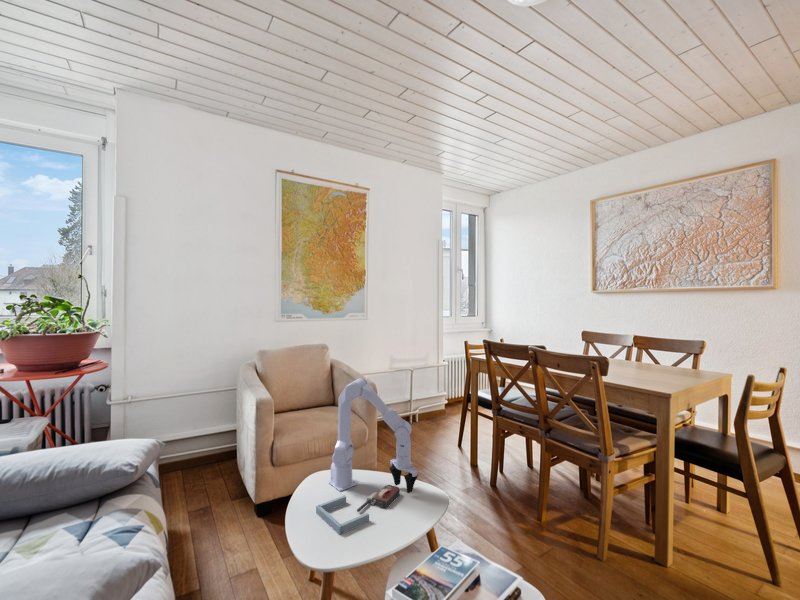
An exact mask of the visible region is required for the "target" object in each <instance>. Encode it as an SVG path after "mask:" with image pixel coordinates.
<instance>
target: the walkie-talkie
mask: <svg viewBox="0 0 800 600" xmlns="http://www.w3.org/2000/svg"><path fill="white" fill-rule="evenodd" d="M400 491H401V490H400V487H398V486H396V485H391V484H387V485H385V486H384V487H383V488H381V489H380V490H378V491H375V492H372V493H371V494H369V496H367V497H366V500H365V502H364V503H363V504H361V506H359V507H358V508H357V509H356V512H358V513H359V512H360V511H362V510H363V509H364V508H365V507H366V506H368V505H369V504H371V503H372V504H371V506H375V505H376V507H379V508H380V509H382V508H383V509H388V508H389V507H390V506H391V505H392V504H393V503H392V502H394V500H395V501H396V498H397V499H398V498H399V497H398V496H400V495H401V494H400V493H401V492H400ZM391 503H392V504H391ZM390 504H391V505H390ZM389 505H390V506H389Z"/></svg>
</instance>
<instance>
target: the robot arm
mask: <svg viewBox="0 0 800 600" xmlns="http://www.w3.org/2000/svg"><path fill="white" fill-rule="evenodd" d="M359 397H360V398H359ZM357 398H359V399H360V400H366V401H369V402H370V403H371V404H372V406H373V407H375V408H376V409H377V410H378V411H379V413H380V414H381V415H382V416H381V417H382V420H383V421H384V423H386V424H387V426H388V427H389V428H390V429H391V430H392V431H393V432H394V437H395V439H396V442H395V445H396V446H395V447H396V448H395V450H396V454H395V455H396V456H395V457H396V458H392V459H390V463H389V464H390V465H391V466H390V467H389V471H390V473H391V474H392V479H393V481H394V482H393V483H394V486H396V487H398V486H399V485H401V481H402V480H401V478H402V472H406V473H407V474H405V475H403V478H404V480H405V484H406V492H407V493H408V494H410V493H412V492H413V490H414V486H415V482H416V481H417V479H418V477H419V473H418V469H416V468H414V466H413V462H412V460H411V459H412V454H411V453H412V451H411V449H412V448H411V447H412V446H411V445H412V444H411V443H412V442H411V433H412V431H413V429H412V428H413V427H412V425H411V423H410V422H409V421H406V420H405V419H403V418H402V417H401V416H400V414H399V413H398V410H397V409H394V408H393V407H388V405H386V403H385V402H384V401H383V400H382V399H381V397H380V396H379V395H378V394H377V392H376V391H375V389H374V388H373V387H372V385H371V384H370V383H369V382H367V380H366V379H365V378H363V377H359V378H356V379H355V380H354V381H352V382H349V383H348V384H347V385H345V386H344V389H343V390H342V392H340V395H339V396H338V404H337V405H338V406H337V407H338V408H337V409H338V411H337V441H336V444H335V446H334V452H333V454H332V456H331V460H332V462H331V465H330V480H329V481H328V484H329V485H331V486H332V487H334V488H335V489H337V490H338V492H342V491H344V490H347V489H350V488H352V487H356V486H357V483H356V482H354V481H353V460H352V457H353V456H354V454H355V448H354V445H353V440H352V439H351V432H352V431H351V430H352V429H351V426H352V401H353V400H355V399H357Z"/></svg>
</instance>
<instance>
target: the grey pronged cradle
mask: <svg viewBox="0 0 800 600" xmlns="http://www.w3.org/2000/svg"><path fill="white" fill-rule="evenodd" d="M345 503H346V504H347V496H346V495H345V494H344V495H341V496H339V497H336V498H334V499H331V500H329V501H326V502H323V503H321V504H318V505H315V513H316V514H317V516H318V517H320V518H321V520H323V521H324V522H325V523H326V524H327V525H328V526H329V527H330V528H331V527H332V528H333V531H335V533H336V534H338V535H339V536H341V535H343V534H345V533H348V532H350V531H352V530H354V529H356V528H358V527H360V526H363V525H365V524H368V523H369V522H370V514H369V513H368V512H366V513H363V514H361V515H358V516H356V517H354V518H352V519H350V520H348V521H345V522H343V523H340V522H339V521H338V520H337V519H336V518H334V517H333V515H331V514H330V513H329V511H331V510H333V509H335V508H334V507H336V508H338V507H341V506H343V505H345ZM340 505H341V506H340ZM337 506H338V507H337ZM332 508H333V509H332ZM330 509H331V510H330ZM327 510H328V511H327Z"/></svg>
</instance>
